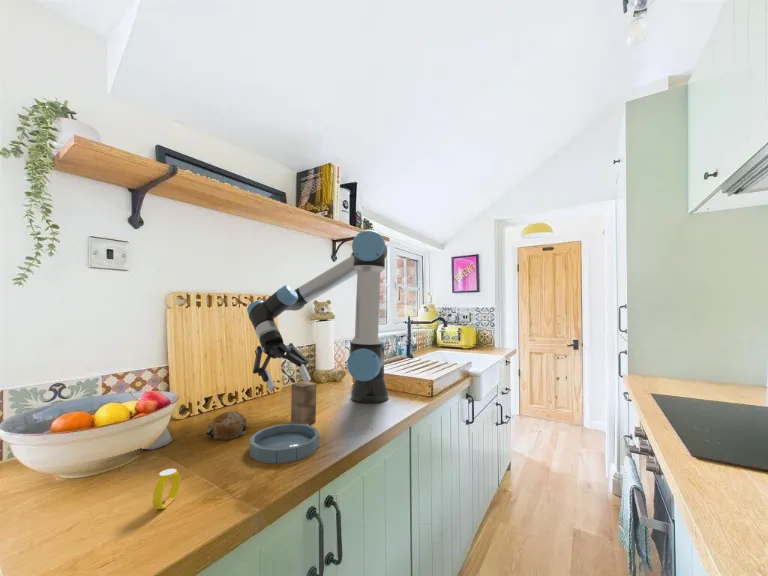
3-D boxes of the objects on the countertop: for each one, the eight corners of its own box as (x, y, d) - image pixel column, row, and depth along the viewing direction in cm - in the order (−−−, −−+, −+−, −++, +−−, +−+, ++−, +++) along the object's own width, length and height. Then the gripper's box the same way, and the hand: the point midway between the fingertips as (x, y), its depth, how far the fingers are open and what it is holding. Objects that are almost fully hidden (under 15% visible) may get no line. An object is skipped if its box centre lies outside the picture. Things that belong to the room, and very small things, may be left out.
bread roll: (234, 453, 88) (248, 426, 89) (198, 440, 86) (213, 411, 87) (242, 439, 98) (255, 414, 99) (209, 426, 96) (223, 401, 97)
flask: (153, 452, 81) (155, 411, 81) (130, 449, 82) (132, 409, 83) (177, 440, 88) (179, 403, 88) (155, 438, 89) (157, 401, 90)
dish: (294, 429, 96) (294, 419, 96) (331, 446, 85) (331, 434, 85) (237, 448, 83) (238, 436, 83) (272, 470, 72) (273, 456, 72)
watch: (167, 497, 62) (170, 464, 63) (182, 497, 62) (185, 464, 63) (146, 515, 56) (150, 478, 57) (163, 514, 56) (166, 478, 57)
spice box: (305, 417, 106) (306, 381, 107) (315, 421, 102) (316, 383, 103) (290, 422, 102) (291, 384, 103) (301, 426, 98) (301, 386, 99)
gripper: (294, 340, 128) (316, 385, 117) (231, 345, 109) (250, 399, 98) (302, 327, 125) (326, 372, 114) (238, 331, 106) (259, 385, 95)
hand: (291, 385), depth 106 cm, fingers open, 13 cm apart
